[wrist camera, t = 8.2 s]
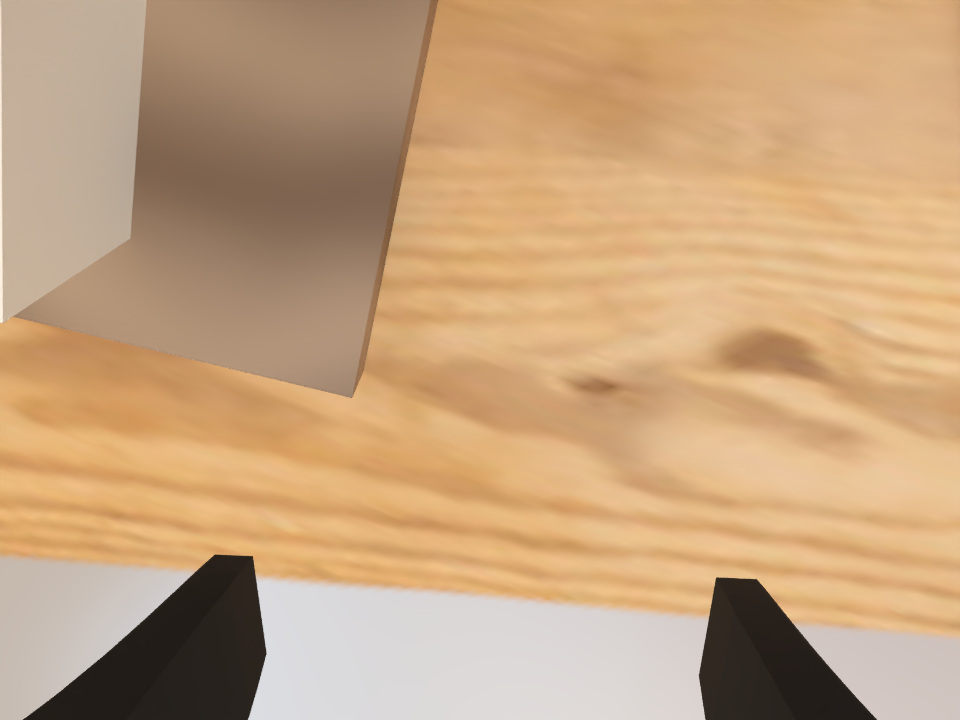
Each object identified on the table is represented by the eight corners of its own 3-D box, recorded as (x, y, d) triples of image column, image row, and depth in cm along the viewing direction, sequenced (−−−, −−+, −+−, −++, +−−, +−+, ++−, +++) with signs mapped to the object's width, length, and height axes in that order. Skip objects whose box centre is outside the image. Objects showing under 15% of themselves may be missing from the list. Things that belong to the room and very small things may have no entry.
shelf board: (-232, -276, 16) (-303, -299, 15) (455, -88, 17) (449, -93, 15) (-170, 242, 21) (-219, 261, 19) (363, 370, 21) (351, 398, 20)
